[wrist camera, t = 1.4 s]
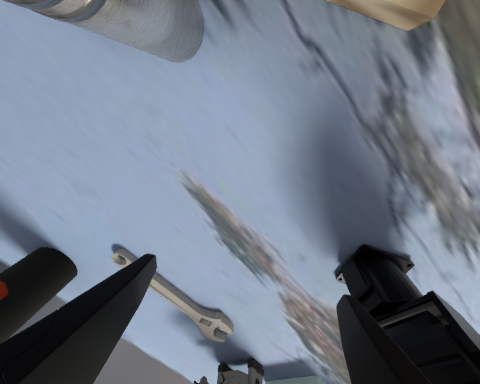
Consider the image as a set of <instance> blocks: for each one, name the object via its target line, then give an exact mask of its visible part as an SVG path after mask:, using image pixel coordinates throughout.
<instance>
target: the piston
mask: <svg viewBox="0 0 480 384" xmlns="http://www.w3.org/2000/svg"><path fill="white" fill-rule="evenodd" d="M4 1H7V2H9V3H12V4H15V5H18V6H21V7H24V8H28V9H31V10H33V11H35V12H37V13H40V14H42V15H45V16H47V17H50V18H53V19H55V20H59V21H62V22H67V23H70V24H73V25H75V26H78V27H81V28H83V29H86V30H89V31H91V32H94V33H97V34H99V35H102V36H105V37H107V38H110V39H112V40H115V41H118V42H120V43H123V44H126V45H128V46H131V47H134V48H136V49H139V50H142V51H144V52H147V53H150V54H152V55H155V56H158V57H160V58H163V59H166V60H168V61H171V62H184V61H186V60H188V59H190V58H191V57H193V56H194V55H195V53H196V52H197V51H198V49H199V47H200V45H201V42H202V39H203V34H204V19H203V14H202V10H201V7H200V5H199V3H198V1H197V0H4Z"/></svg>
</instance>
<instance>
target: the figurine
mask: <svg viewBox="0 0 480 384" xmlns="http://www.w3.org/2000/svg"><path fill="white" fill-rule="evenodd" d="M263 376H264V370H263V369H262V366H260V364H257V362H256V361H255V360H254V359H251V360H249V361H248V374H246V373H244V372H241V371H239V370H235V371H234V370H233V371H232V370H230V368H229V369H227V366H225V364H220V365H218V379H217V384H262V379H263ZM194 384H198V383H197V382H196V381H194ZM199 384H209V383H208V382H207V378H206V377H205V376H203V377H202V378H201V380H200V383H199Z"/></svg>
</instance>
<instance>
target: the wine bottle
mask: <svg viewBox="0 0 480 384" xmlns="http://www.w3.org/2000/svg"><path fill="white" fill-rule="evenodd" d="M76 275H77V268H76V266H75V265H74V263H73V262H72V261H71V260H70V259H69V258H68V257H67V256H66V255H64V254H63V253H61V252H59V251H57V250H55V249H52V248H47V247H41V248H39V249H37V250H35V251H34V252H32V253H31V254H29V255H28V256H26V257H25V258H23V259H21V260H20V261H18V262H17V263H15V264H14V265H12V266H11V267H9V268H8V269H6V270H5V271H3V272H2V273H0V343H2V342H4V341H5V340H7V339H9V338H10V337H11V336H12V335H13V334H14V333H15V332H16V331H17V330H18V329H19V328H20V327H22V326H23V325H24V324H25V323H26V322H27V321H28V320H29V319H30V318H31V317H32V316H33V315H34V314H36V312H38V311H39V310H40V309H41V308H42V307H43V306H44V305H45V304H46V303H47V302H48V301H50V300H51V299H52V298H53V297H54V296H55V295H56V294H57V293H58V292H59V291H60V290H62V289H63V288H64V287H65V286H66V285H67V284H68V283H69V282H70V281H71V280H72V279H73V278H75V276H76Z"/></svg>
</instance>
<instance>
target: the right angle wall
mask: <svg viewBox="0 0 480 384" xmlns="http://www.w3.org/2000/svg"><path fill="white" fill-rule="evenodd" d="M266 384H325V383H324V382H323V381H322V380H321V379H320V378H319V377H318V376H317V375H315V376H306V377H298V378H289V379H281V380H272V381H266Z"/></svg>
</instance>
